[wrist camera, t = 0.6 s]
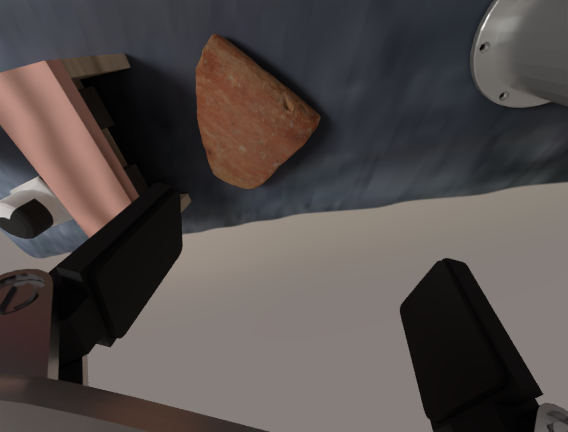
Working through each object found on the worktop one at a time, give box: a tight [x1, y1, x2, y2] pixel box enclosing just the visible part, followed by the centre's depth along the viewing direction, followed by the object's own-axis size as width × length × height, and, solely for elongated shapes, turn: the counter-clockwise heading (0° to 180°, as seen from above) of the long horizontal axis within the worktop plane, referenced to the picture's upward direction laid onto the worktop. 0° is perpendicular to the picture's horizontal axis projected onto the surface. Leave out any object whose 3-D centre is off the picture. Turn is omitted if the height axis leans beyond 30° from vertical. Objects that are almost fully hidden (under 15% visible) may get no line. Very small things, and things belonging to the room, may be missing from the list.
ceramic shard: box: [196, 34, 321, 189], centre depth 32 cm, size 15×6×15 cm
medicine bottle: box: [0, 176, 74, 239], centre depth 39 cm, size 7×7×12 cm
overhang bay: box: [0, 53, 191, 238], centre depth 33 cm, size 10×21×10 cm, turn 11°
